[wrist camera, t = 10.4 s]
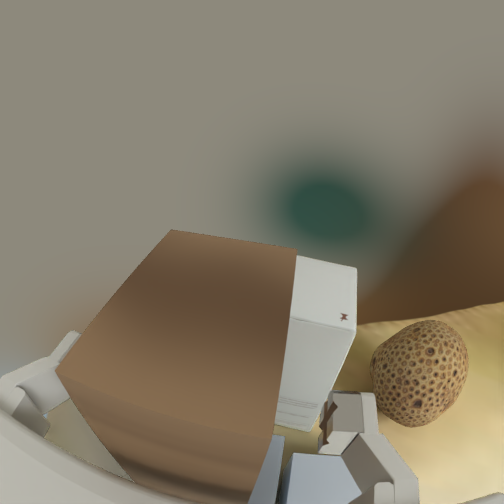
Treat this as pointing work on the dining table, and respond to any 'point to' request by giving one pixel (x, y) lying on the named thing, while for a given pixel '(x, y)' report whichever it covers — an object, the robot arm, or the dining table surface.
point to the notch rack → (303, 479)
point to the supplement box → (316, 339)
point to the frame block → (189, 365)
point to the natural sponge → (419, 372)
